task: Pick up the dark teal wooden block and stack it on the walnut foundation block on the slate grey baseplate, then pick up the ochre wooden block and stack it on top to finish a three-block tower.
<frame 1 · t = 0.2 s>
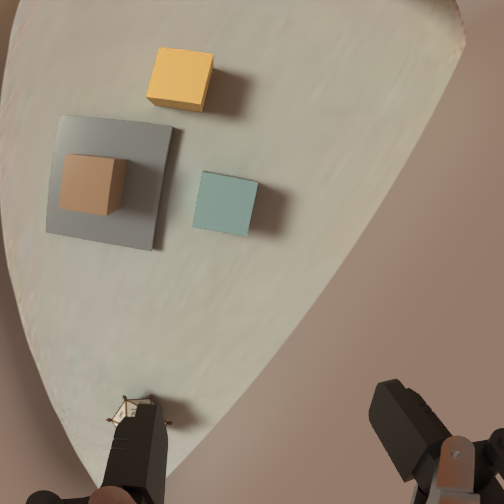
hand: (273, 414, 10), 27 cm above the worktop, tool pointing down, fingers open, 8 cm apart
ochre block: (183, 86, 31), on the worktop
game die: (143, 403, 42), on the worktop
teal block: (222, 198, 35), on the worktop
baseplate: (104, 180, 32), on the worktop
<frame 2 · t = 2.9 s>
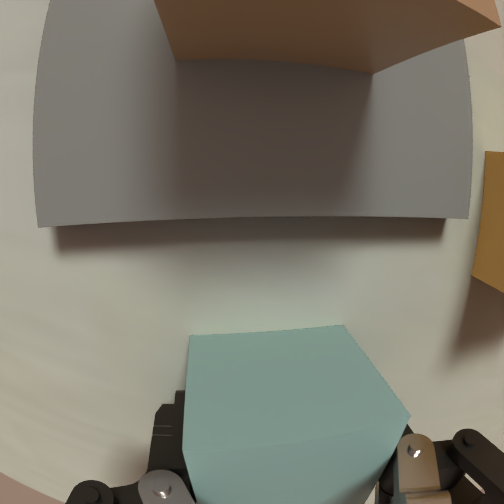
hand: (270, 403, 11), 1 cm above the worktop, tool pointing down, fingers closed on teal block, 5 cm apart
teal block: (267, 389, 11), on the worktop, touching gripper
baseplate: (271, 0, 7), on the worktop
when the fingers open (8 cm above the worktop, at t = 8.0 s): teal block drops 1 cm, resting on baseplate.
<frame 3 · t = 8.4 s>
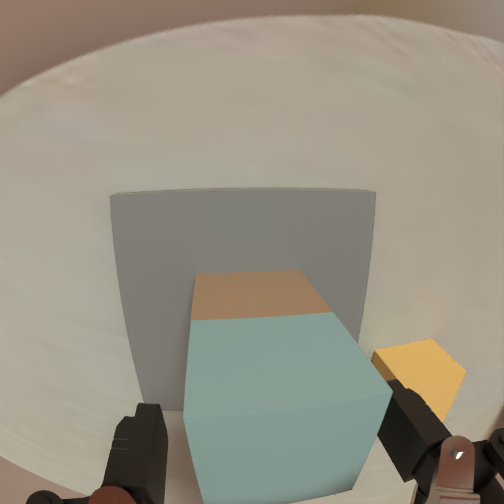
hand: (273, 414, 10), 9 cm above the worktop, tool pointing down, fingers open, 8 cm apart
ochre block: (396, 371, 22), on the worktop
teal block: (262, 373, 12), point 6 cm above the worktop, touching baseplate
baseplate: (246, 308, 18), on the worktop
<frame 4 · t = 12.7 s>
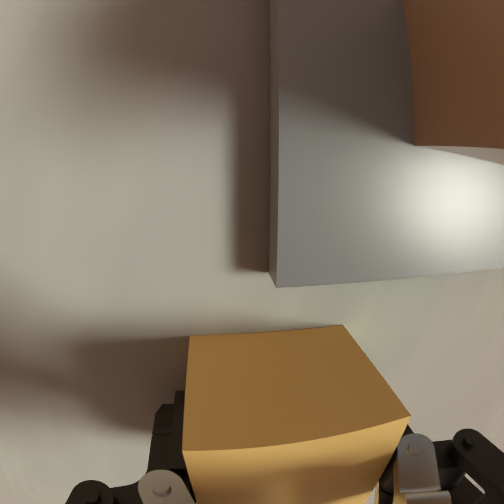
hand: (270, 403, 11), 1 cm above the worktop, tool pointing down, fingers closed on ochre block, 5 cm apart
ochre block: (267, 390, 11), on the worktop, touching gripper
baseplate: (448, 87, 9), on the worktop
when the fingers open (13 cm above the worktop, at t = 17.7 s): ochre block drops 1 cm, resting on teal block.
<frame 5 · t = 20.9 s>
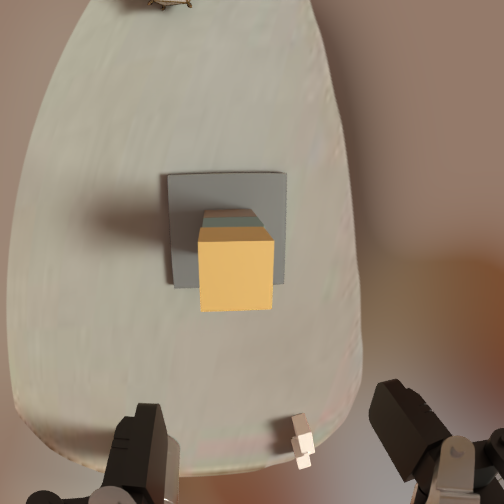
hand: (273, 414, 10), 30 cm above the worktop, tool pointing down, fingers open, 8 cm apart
ochre block: (232, 257, 28), point 11 cm above the worktop, touching teal block
teal block: (230, 243, 33), point 6 cm above the worktop, touching baseplate, ochre block
notched block: (295, 433, 52), on the worktop
baseplate: (227, 230, 39), on the worktop
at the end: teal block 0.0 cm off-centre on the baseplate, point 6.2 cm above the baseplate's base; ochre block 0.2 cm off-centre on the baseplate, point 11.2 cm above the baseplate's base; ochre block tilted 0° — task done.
